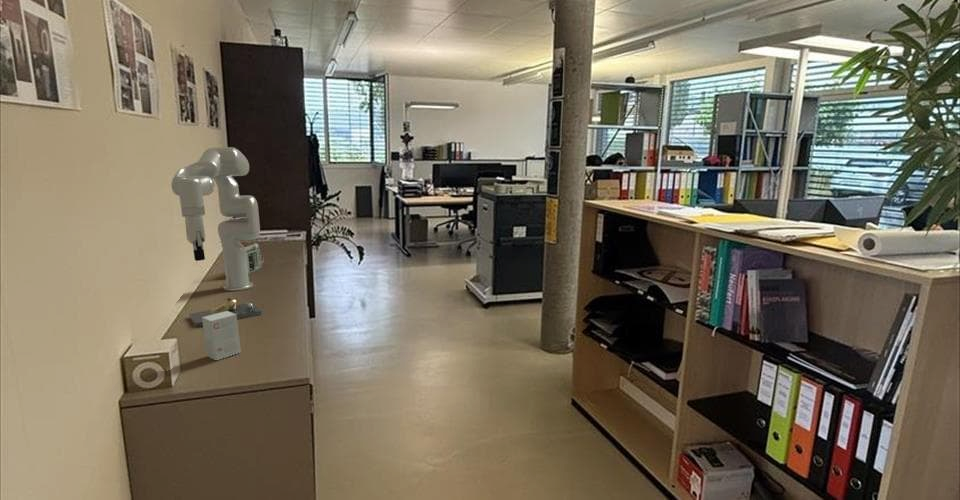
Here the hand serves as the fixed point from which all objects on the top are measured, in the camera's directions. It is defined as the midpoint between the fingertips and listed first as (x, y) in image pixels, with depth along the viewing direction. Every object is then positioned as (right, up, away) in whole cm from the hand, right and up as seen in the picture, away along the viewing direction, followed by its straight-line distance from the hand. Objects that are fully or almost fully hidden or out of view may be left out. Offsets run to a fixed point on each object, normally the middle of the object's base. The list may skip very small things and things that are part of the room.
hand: (199, 259), depth 198 cm
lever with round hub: (+7, -20, +4) cm, 22 cm away
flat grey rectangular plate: (+7, -22, +6) cm, 24 cm away
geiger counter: (-15, -8, +78) cm, 80 cm away
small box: (+25, -30, -32) cm, 50 cm away
